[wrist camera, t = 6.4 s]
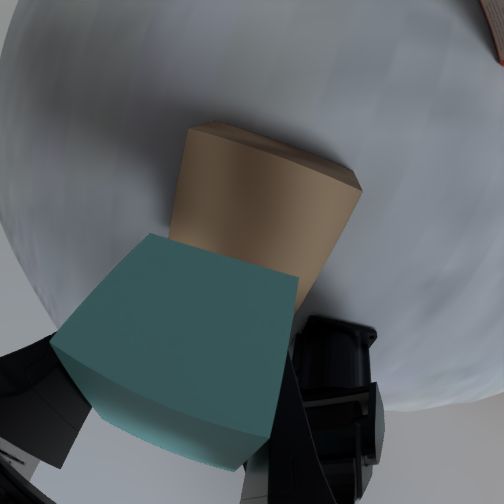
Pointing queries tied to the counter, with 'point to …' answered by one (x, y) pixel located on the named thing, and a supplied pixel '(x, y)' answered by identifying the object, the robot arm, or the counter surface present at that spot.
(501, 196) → the counter surface
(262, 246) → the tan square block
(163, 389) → the teal cube
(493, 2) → the cracker box
